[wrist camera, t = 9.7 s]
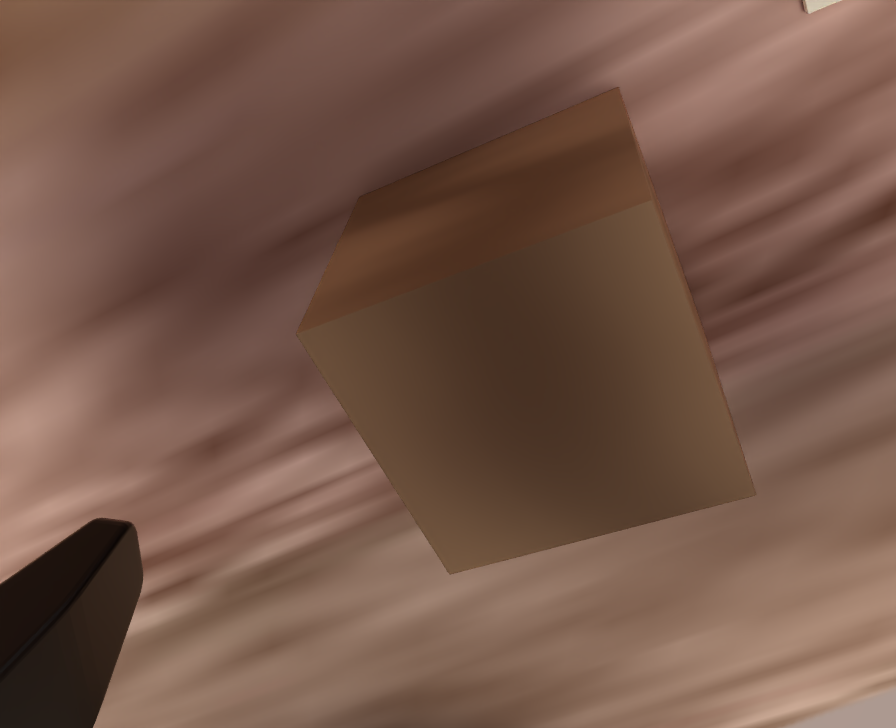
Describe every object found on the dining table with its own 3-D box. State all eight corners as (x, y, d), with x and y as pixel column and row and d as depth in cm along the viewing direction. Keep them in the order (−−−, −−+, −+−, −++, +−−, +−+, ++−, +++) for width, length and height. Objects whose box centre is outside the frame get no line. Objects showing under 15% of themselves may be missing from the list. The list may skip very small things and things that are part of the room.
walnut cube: (469, 397, 18) (449, 574, 14) (360, 194, 16) (295, 334, 11) (701, 322, 16) (756, 495, 12) (617, 85, 14) (652, 200, 10)
